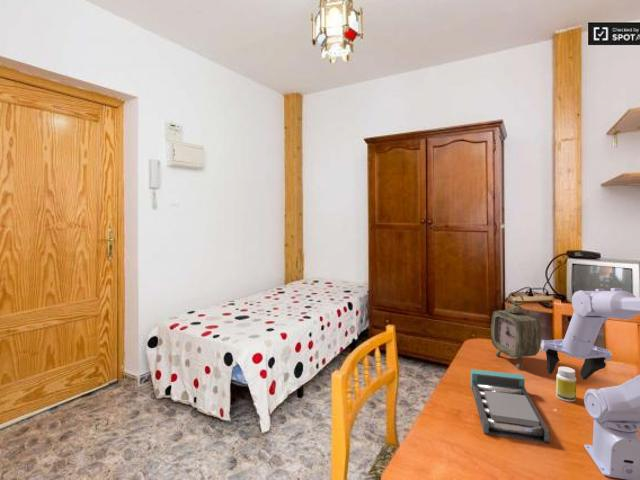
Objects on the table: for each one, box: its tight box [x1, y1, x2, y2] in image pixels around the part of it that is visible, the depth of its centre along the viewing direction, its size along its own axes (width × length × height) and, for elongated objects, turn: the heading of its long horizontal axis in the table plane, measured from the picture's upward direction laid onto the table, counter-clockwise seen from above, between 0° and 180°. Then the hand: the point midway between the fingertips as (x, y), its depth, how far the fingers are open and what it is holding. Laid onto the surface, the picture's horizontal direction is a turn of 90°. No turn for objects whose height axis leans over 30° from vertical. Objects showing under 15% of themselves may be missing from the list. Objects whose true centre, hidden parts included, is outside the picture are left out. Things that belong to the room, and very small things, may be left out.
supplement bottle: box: [555, 366, 577, 402], centre depth 100 cm, size 5×5×8 cm
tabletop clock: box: [490, 291, 542, 370], centre depth 124 cm, size 14×9×25 cm, turn 10°
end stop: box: [470, 368, 526, 389], centre depth 105 cm, size 4×14×5 cm, turn 73°
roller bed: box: [471, 381, 551, 444], centre depth 93 cm, size 22×14×3 cm, turn 163°
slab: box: [484, 391, 539, 427], centre depth 89 cm, size 12×10×1 cm
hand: (565, 373), depth 91 cm, fingers open, 7 cm apart
